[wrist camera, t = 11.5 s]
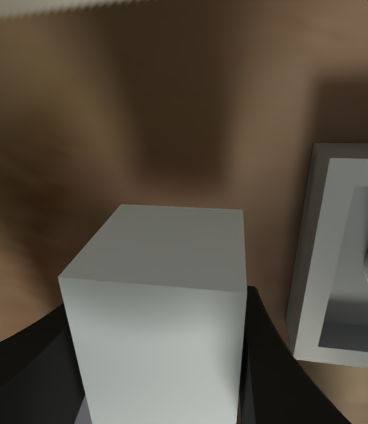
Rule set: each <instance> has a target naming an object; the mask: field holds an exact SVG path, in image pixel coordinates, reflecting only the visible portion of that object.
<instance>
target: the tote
mask: <svg viewBox="0 0 368 424" xmlns="http://www.w3.org/2000/svg"><path fill="white" fill-rule="evenodd" d="M367 250H368V143H314V145H313V151H312V157H311V164H310V170H309V176H308V183H307V189H306V195H305V201H304V208H303V214H302V220H301V227H300V233H299V239H298V246H297V252H296V258H295V264H294V271H293V277H292V283H291V290H290V296H289V302H288V309H287V315H286V327H287V332H288V337H289V342H290V347H291V352H292V355H293V356H294V358H295V359H296V360H304V361H312V362H321V363H330V364H338V365H347V366H356V367H364V368H368V282H367V280H366V278H365V275H364V270H363V263H364V258H365V255H366V252H367Z"/></svg>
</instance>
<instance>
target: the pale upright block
mask: <svg viewBox="0 0 368 424" xmlns="http://www.w3.org/2000/svg"><path fill="white" fill-rule="evenodd" d="M58 280H59V284H60V289H61V293H62V297H63V301H64V306H65V310H66V314H67V318H68V322H69V327H70V331H71V335H72V339H73V344H74V348H75V352H76V356H77V361H78V365H79V369H80V373H81V377H82V382H83V386H84V390H85V394H86V399H87V403H88V407H89V411H90V415H91V420H92V424H236V420H237V408H238V396H239V384H240V372H241V360H242V348H243V336H244V324H245V312H246V300H247V281H246V261H245V241H244V221H243V210H238V209H216V208H193V207H170V206H148V205H125V204H121V205H120V206H119V207H118V208H117V210H116V211H115V212H114V213H113V214H112V215H111V216H110V218H109V219H108V220H107V221H106V222H105V223H104V225H103V226H102V227H101V228H100V229H99V230H98V231H97V233H96V234H95V235H94V236H93V237H92V238H91V239H90V241H89V242H88V243H87V244H86V245H85V246H84V248H83V249H82V250H81V251H80V252H79V253H78V254H77V256H76V257H75V258H74V259H73V260H72V261H71V262H70V264H69V265H68V266H67V267H66V268H65V269H64V271H63V272H62V273H61V274H60V275H59V276H58Z"/></svg>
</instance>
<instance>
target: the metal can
mask: <svg viewBox="0 0 368 424" xmlns="http://www.w3.org/2000/svg"><path fill="white" fill-rule="evenodd" d="M363 270H364V275H365V278H366V280H367V282H368V250H367V252H366V255H365V258H364V263H363Z"/></svg>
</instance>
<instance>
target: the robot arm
mask: <svg viewBox="0 0 368 424" xmlns="http://www.w3.org/2000/svg"><path fill="white" fill-rule="evenodd" d="M239 394H240V406H241V424H351V423H350V422H349V421H348V420H347V419H346V418H345V417H344V416H343V415H342V413H341V412H340V411H339V410H338V409H337V408H336V407H335V406H334V405H333V404H332V403H331V402H330V400H329V399H328V398H327V397H326V396H325V395H324V394H323V393H322V392H321V390H320V389H319V388H318V387H317V386H316V385H315V384H314V382H313V381H312V380H311V379H310V377H309V376H308V375H307V374H306V372H305V371H304V370H303V369H302V367H301V366H300V365H299V363H298V362H297V361H296V359H295V358H294V356H293V355H292V353H291V352H290V351H289V349H288V348H287V346H286V344H285V343H284V341H283V340H282V338H281V337H280V335H279V333H278V332H277V330H276V328H275V326H274V325H273V323H272V321H271V319H270V317H269V315H268V314H267V312H266V309H265V307H264V305H263V303H262V301H261V299H260V296H259V293H258V290H257V289H256V287H255V286H247V300H246V312H245V324H244V336H243V348H242V360H241V372H240V384H239ZM0 424H92V420H91V415H90V411H89V407H88V403H87V399H86V394H85V390H84V386H83V382H82V377H81V373H80V369H79V365H78V361H77V356H76V352H75V348H74V344H73V339H72V335H71V331H70V327H69V322H68V318H67V314H66V310H65V306H64V303H63V304H62V305H60V306H59V307H57V308H56V309H54V310H53V311H52V312H50V313H49V314H47V315H46V316H44V317H43V318H41V319H40V320H38V321H37V322H35V323H33V324H32V325H30V326H28V327H27V328H25V329H23V330H22V331H20V332H18V333H16V334H15V335H13V336H11V337H9V338H7V339H5V340H3V341H1V342H0Z"/></svg>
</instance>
